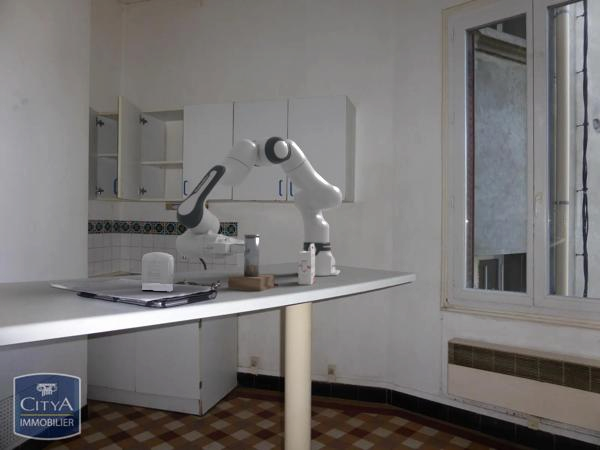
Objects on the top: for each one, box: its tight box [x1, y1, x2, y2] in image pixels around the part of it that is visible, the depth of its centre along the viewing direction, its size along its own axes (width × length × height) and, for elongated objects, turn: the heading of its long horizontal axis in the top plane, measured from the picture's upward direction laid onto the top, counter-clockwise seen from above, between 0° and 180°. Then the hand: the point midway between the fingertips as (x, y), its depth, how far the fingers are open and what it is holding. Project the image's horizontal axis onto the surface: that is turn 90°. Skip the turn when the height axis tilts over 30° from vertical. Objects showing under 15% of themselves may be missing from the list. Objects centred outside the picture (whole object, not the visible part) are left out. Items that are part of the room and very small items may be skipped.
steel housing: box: [243, 234, 261, 277], centre depth 145 cm, size 5×5×14 cm
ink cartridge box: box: [297, 244, 316, 286], centre depth 160 cm, size 9×5×15 cm, turn 168°
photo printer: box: [140, 251, 175, 285], centre depth 136 cm, size 10×4×12 cm, turn 78°
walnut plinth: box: [227, 273, 275, 292], centre depth 145 cm, size 10×12×4 cm
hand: (252, 247), depth 145 cm, fingers open, 8 cm apart
